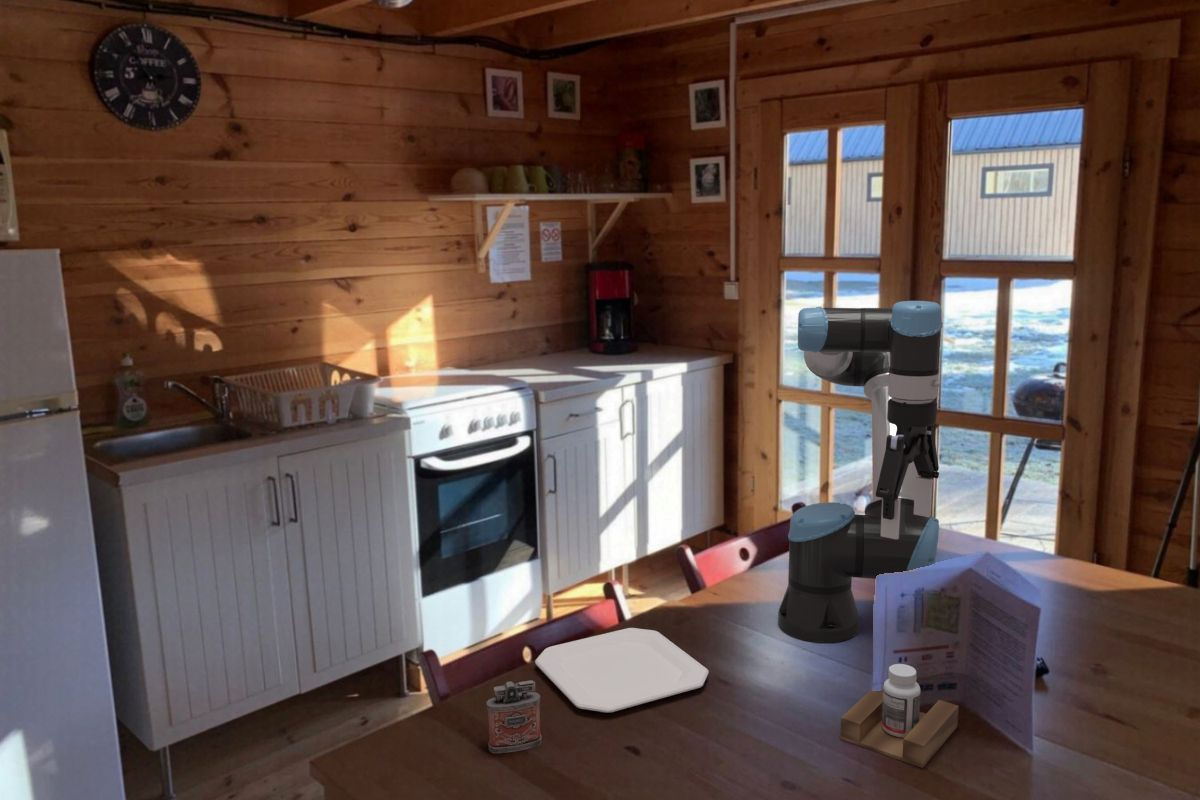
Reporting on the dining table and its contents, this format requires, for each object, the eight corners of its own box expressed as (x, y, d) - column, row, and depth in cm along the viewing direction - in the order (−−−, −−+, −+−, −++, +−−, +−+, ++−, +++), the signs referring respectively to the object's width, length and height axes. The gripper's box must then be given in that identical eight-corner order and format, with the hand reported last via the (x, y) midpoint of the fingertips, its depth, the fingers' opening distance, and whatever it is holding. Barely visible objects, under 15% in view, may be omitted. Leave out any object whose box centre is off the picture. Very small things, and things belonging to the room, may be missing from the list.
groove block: (840, 738, 145) (840, 717, 144) (878, 701, 155) (879, 681, 155) (922, 768, 137) (923, 745, 136) (957, 726, 147) (958, 705, 147)
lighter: (490, 755, 142) (487, 693, 140) (486, 743, 145) (483, 682, 143) (544, 746, 144) (541, 684, 142) (538, 734, 147) (536, 674, 145)
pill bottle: (905, 717, 149) (908, 659, 147) (925, 735, 144) (929, 675, 142) (874, 723, 148) (877, 664, 146) (894, 741, 143) (896, 680, 141)
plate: (526, 662, 171) (526, 651, 171) (647, 633, 182) (647, 622, 182) (588, 728, 149) (587, 715, 149) (721, 690, 160) (721, 678, 160)
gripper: (904, 415, 142) (898, 552, 146) (963, 389, 161) (956, 510, 165) (856, 409, 147) (851, 542, 151) (919, 384, 165) (913, 503, 170)
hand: (906, 526), depth 158 cm, fingers open, 13 cm apart
